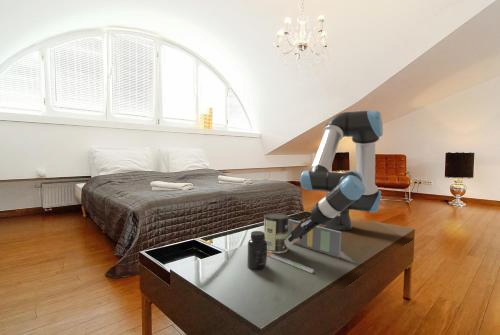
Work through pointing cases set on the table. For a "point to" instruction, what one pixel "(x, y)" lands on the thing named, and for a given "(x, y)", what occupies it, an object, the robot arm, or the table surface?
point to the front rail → (290, 262)
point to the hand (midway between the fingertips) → (286, 243)
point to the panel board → (319, 239)
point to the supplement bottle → (257, 251)
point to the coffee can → (276, 232)
